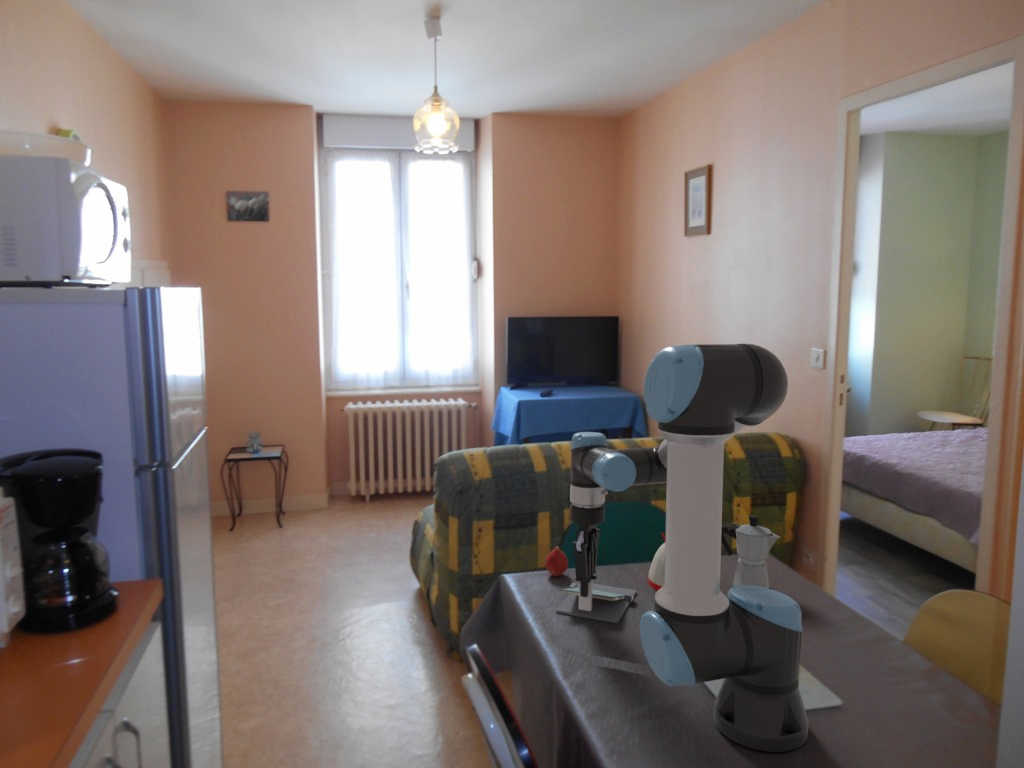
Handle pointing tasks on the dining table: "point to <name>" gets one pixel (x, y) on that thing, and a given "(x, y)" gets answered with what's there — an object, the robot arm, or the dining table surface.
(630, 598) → the hinge blocks
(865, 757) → the dining table surface
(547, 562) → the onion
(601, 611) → the base plate
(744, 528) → the coffee maker
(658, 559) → the kitchen timer
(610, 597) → the flap
